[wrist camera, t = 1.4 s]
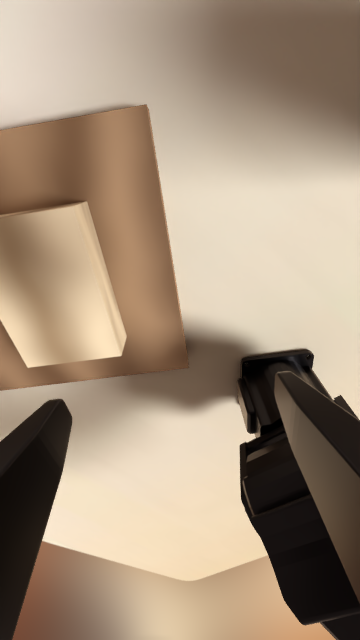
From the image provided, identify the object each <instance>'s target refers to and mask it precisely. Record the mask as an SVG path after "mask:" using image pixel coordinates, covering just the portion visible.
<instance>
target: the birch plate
mask: <svg viewBox="0 0 360 640" xmlns="http://www.w3.org/2000/svg"><path fill="white" fill-rule="evenodd" d="M0 320H1V322H2V324H3V325H4V327H5V329H6V331H7V332H8V334H9V336H10V338H11V339H12V341H13V343H14V345H15V346H16V348H17V350H18V352H19V353H20V355H21V357H22V359H23V360H24V362H25V364H26V366H27V367H28V368H30V367H38V366H46V365H54V364H62V363H70V362H78V361H86V360H94V359H102V358H110V357H118V356H121V355H122V352H123V348H124V345H125V341H126V337H127V336H126V332H125V329H124V325H123V322H122V319H121V315H120V312H119V309H118V305H117V302H116V298H115V295H114V292H113V288H112V285H111V281H110V278H109V275H108V271H107V268H106V264H105V261H104V258H103V254H102V251H101V247H100V244H99V241H98V237H97V234H96V231H95V227H94V224H93V220H92V217H91V214H90V210H89V207H88V203H87V201H85V202H78V203H72V204H66V205H60V206H53V207H47V208H41V209H34V210H28V211H22V212H16V213H9V214H3V215H0Z"/></svg>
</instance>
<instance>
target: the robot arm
mask: <svg viewBox="0 0 360 640" xmlns="http://www.w3.org/2000/svg"><path fill="white" fill-rule="evenodd" d="M307 355H309V356H307ZM306 356H307V357H306ZM313 359H314V355H313V353H312V352H311V351H309V350H305V351H297V352H289V353H280V354H272V355H264V356H256V357H248V358H243V359H242V360H241V362H240V363H241V378H239V379H238V380H237V388H238V400H239V404H240V407H241V411H242V415H243V418H244V422H245V425H246V429H247V432H248V433H250V434H253V433H255V437H256V439H253V440H251V441H249V442H245V443H243V444H241V445H240V486H241V500H242V503H243V505H244V507H245V511H246V513H247V515H248V517H249V519H250V521H251V523H252V525H253V527H254V529H255V530H256V532H257V533H258V534H259V536H260V538H261V540H262V542H263V544H264V546H265V549H266V551H267V553H268V555H269V558H270V561H271V564H272V566H273V569H274V572H275V575H276V578H277V581H278V584H279V587H280V590H281V593H282V596H283V598H284V601H285V602H286V604H287V605H288V606H289V608H290V609H291V611H292V612H293V613H294V615H295V616H296V617H297V619H298V620H299V622H300V623H301V624H303V625H309V624H314V623H319V622H320V623H321V624H322V625H323V626H324V628H325V629H326V630H327V631H328V632H329V633H330V634H331V635H332V636H333V637H334V638H335V639H336V640H360V420H359V419H358V418H357V416H356V415H355V414H354V412H353V411H352V409H351V408H350V407H349V405H348V404H347V403H346V401H345V400H344V399H343V397H342V396H341V395H340V396H338V397H336V398H334V399H335V400H333V399H332V398H331V396H330V395H329V393H328V392H327V390H326V389H325V388H324V386H323V385H322V383H321V382H320V380H319V379H318V377H317V376H316V374H315V373H314V372H313V370H312V366H313ZM245 363H247V364H245ZM71 427H72V416H71V413H70V412H69V410H68V408H67V406H66V404H65V402H64V401H63V400H62V399H54V400H49V401H47V402H46V403H44V404H43V405H42V406H41V407H40V408H39V409H38V410H36V411H35V412H34V413H33V414H32V415H31V416H29V417H28V418H27V419H26V420H25V421H24V422H23V423H21V424H20V425H19V426H18V427H17V428H16V429H15V430H13V431H12V432H11V433H10V434H9V435H8V436H6V437H5V438H4V439H3V440H2V441H1V442H0V640H12V639H13V635H14V631H15V629H16V625H17V622H18V618H19V615H20V612H21V608H22V605H23V602H24V599H25V595H26V592H27V589H28V585H29V582H30V578H31V575H32V572H33V569H34V565H35V562H36V559H37V555H38V552H39V548H40V545H41V542H42V539H43V535H44V532H45V529H46V525H47V522H48V519H49V515H50V512H51V509H52V505H53V502H54V499H55V495H56V492H57V489H58V485H59V482H60V479H61V475H62V471H63V467H64V462H65V457H66V452H67V447H68V442H69V437H70V432H71Z"/></svg>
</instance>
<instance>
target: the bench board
mask: <svg viewBox="0 0 360 640" xmlns="http://www.w3.org/2000/svg"><path fill="white" fill-rule="evenodd" d="M85 201H87V203H88V207H89V210H90V214H91V217H92V220H93V224H94V227H95V231H96V234H97V237H98V241H99V244H100V247H101V251H102V254H103V258H104V261H105V264H106V268H107V271H108V275H109V278H110V281H111V285H112V288H113V292H114V295H115V298H116V302H117V305H118V309H119V312H120V315H121V319H122V322H123V325H124V329H125V332H126V336H127V337H126V341H125V345H124V348H123V352H122V355H121V356H118V357H110V358H102V359H94V360H86V361H78V362H70V363H62V364H54V365H46V366H38V367H30V368H28V367H27V366H26V364H25V362H24V360H23V359H22V357H21V355H20V353H19V352H18V350H17V348H16V346H15V345H14V343H13V341H12V339H11V338H10V336H9V334H8V332H7V331H6V329H5V327H4V325H3V324H2V322H1V320H0V391H1V390H9V389H18V388H26V387H34V386H42V385H51V384H59V383H67V382H75V381H84V380H92V379H100V378H109V377H117V376H125V375H133V374H142V373H150V372H158V371H166V370H175V369H183V368H189V366H188V355H187V348H186V342H185V336H184V329H183V323H182V317H181V311H180V304H179V298H178V292H177V285H176V279H175V273H174V266H173V260H172V254H171V247H170V241H169V235H168V228H167V222H166V216H165V210H164V203H163V197H162V191H161V184H160V178H159V172H158V165H157V159H156V153H155V146H154V140H153V134H152V127H151V121H150V115H149V109H148V107H147V105H140V106H135V107H129V108H123V109H118V110H112V111H106V112H101V113H95V114H90V115H84V116H78V117H73V118H67V119H61V120H56V121H50V122H44V123H39V124H33V125H27V126H22V127H16V128H11V129H5V130H0V215H3V214H9V213H16V212H22V211H28V210H34V209H41V208H47V207H53V206H60V205H66V204H72V203H78V202H85Z"/></svg>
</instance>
